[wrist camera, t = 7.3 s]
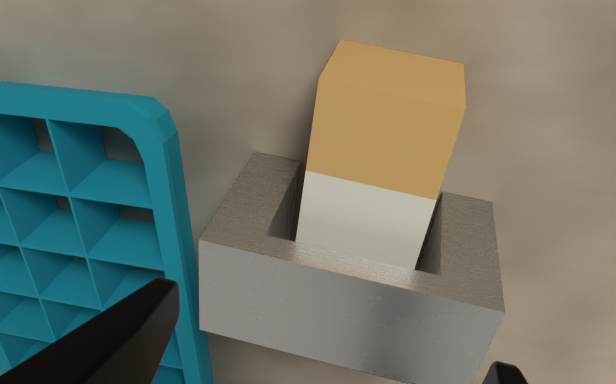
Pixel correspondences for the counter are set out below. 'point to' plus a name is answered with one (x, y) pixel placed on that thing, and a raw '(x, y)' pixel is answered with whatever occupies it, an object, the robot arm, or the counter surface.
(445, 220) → the gray rectangular block
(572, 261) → the counter surface
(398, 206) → the tan-tipped white bar
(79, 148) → the ice cube tray
